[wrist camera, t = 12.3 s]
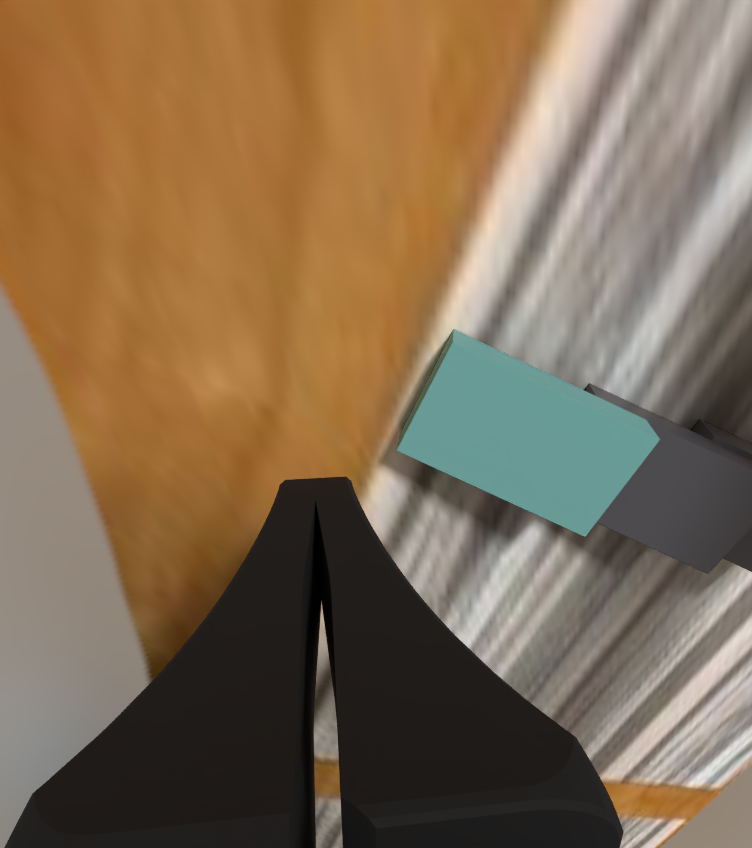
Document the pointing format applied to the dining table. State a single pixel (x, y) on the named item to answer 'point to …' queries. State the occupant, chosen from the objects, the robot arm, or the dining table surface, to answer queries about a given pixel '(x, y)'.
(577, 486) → the tile
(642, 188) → the dining table surface
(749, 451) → the tile
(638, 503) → the tile
